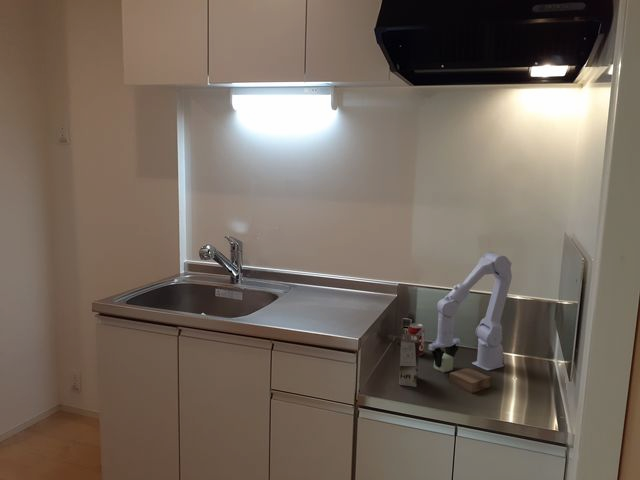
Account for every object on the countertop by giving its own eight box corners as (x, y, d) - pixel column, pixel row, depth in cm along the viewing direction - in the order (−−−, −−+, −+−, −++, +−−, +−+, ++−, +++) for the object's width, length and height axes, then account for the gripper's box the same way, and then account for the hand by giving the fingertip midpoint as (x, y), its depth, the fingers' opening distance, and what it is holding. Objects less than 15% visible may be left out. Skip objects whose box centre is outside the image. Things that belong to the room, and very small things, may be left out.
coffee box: (417, 387, 184) (419, 342, 181) (398, 385, 185) (400, 341, 183) (417, 376, 193) (419, 334, 190) (399, 374, 194) (401, 332, 191)
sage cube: (443, 365, 204) (444, 352, 203) (452, 369, 200) (453, 357, 199) (433, 367, 201) (434, 355, 200) (443, 372, 197) (443, 359, 196)
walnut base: (467, 377, 194) (468, 367, 193) (490, 387, 186) (490, 376, 185) (448, 383, 188) (449, 373, 187) (471, 394, 180) (471, 383, 179)
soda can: (406, 356, 212) (408, 327, 211) (406, 350, 219) (408, 322, 217) (423, 357, 211) (425, 328, 209) (423, 351, 218) (424, 323, 216)
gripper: (451, 324, 205) (449, 358, 207) (423, 330, 198) (421, 365, 200) (465, 330, 199) (463, 364, 201) (436, 336, 192) (434, 371, 194)
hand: (443, 365), depth 200 cm, fingers closed on sage cube, 5 cm apart
